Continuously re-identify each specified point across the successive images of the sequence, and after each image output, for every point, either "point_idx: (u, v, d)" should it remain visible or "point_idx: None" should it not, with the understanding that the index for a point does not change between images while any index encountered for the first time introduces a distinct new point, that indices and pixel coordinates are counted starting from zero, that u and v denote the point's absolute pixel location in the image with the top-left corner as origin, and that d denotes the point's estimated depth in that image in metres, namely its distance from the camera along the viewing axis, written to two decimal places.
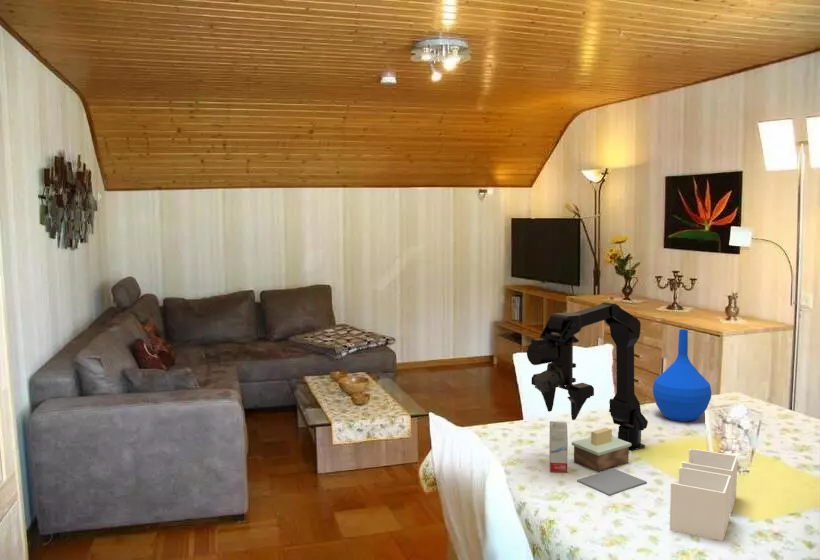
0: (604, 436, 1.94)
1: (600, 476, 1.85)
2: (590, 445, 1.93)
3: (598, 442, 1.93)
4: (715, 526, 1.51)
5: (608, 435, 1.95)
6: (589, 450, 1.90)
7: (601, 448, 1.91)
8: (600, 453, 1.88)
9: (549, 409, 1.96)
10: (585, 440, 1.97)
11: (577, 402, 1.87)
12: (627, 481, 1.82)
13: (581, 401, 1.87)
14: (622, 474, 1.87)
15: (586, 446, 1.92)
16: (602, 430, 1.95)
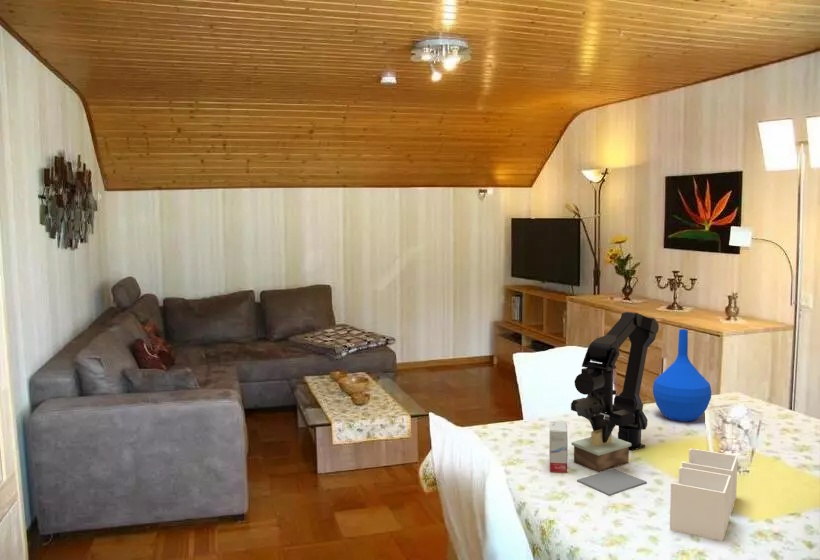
0: None
1: (600, 476, 1.85)
2: (590, 445, 1.93)
3: (598, 442, 1.93)
4: (715, 526, 1.51)
5: None
6: (589, 450, 1.90)
7: (601, 448, 1.91)
8: (600, 453, 1.88)
9: None
10: (585, 440, 1.97)
11: (608, 425, 1.93)
12: (627, 481, 1.82)
13: (612, 424, 1.93)
14: (622, 474, 1.87)
15: (586, 446, 1.92)
16: None
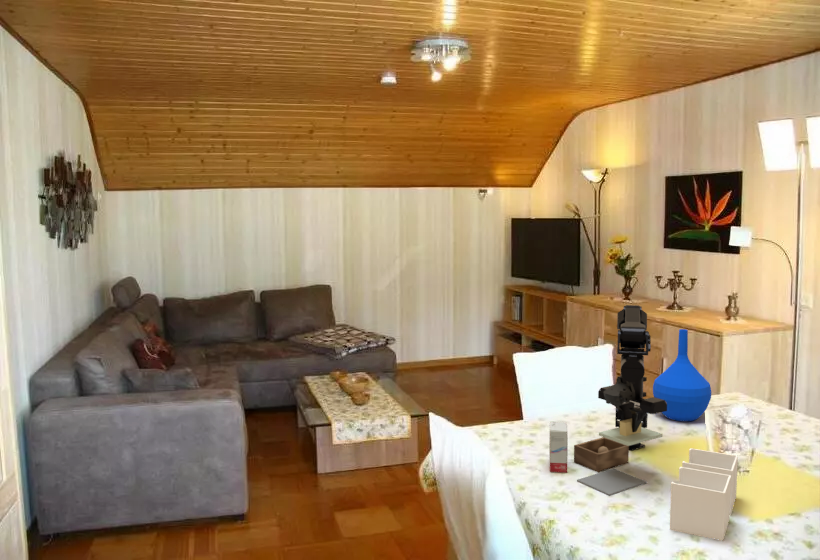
0: None
1: (600, 476, 1.85)
2: (619, 435, 1.84)
3: (627, 432, 1.84)
4: (716, 526, 1.51)
5: None
6: (618, 440, 1.81)
7: (630, 438, 1.81)
8: (630, 443, 1.79)
9: None
10: (613, 430, 1.88)
11: (638, 414, 1.83)
12: (627, 481, 1.82)
13: (642, 413, 1.83)
14: (622, 474, 1.87)
15: (614, 436, 1.83)
16: (631, 420, 1.85)
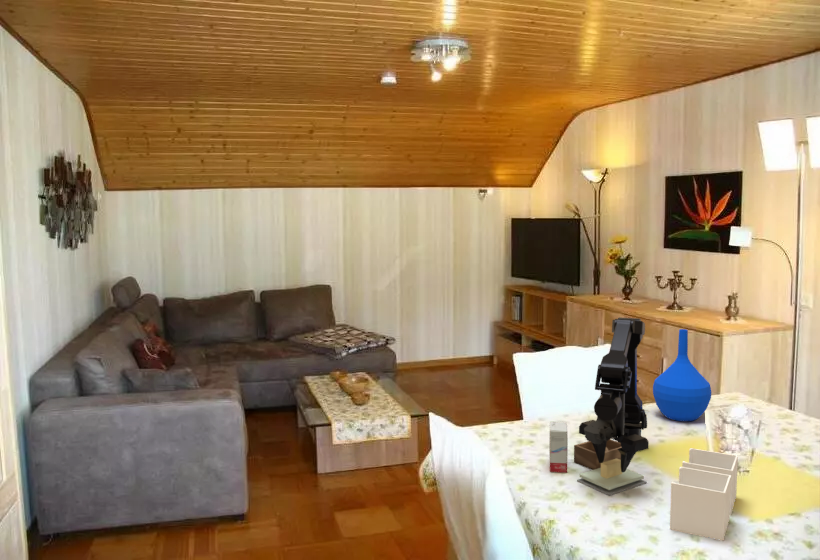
0: (614, 468, 1.81)
1: None
2: (599, 478, 1.80)
3: (608, 474, 1.80)
4: (716, 526, 1.51)
5: (619, 467, 1.82)
6: (599, 484, 1.77)
7: (611, 481, 1.78)
8: (610, 487, 1.75)
9: (600, 461, 1.85)
10: (594, 472, 1.84)
11: (627, 454, 1.77)
12: None
13: (631, 453, 1.78)
14: None
15: (595, 479, 1.79)
16: (612, 461, 1.82)
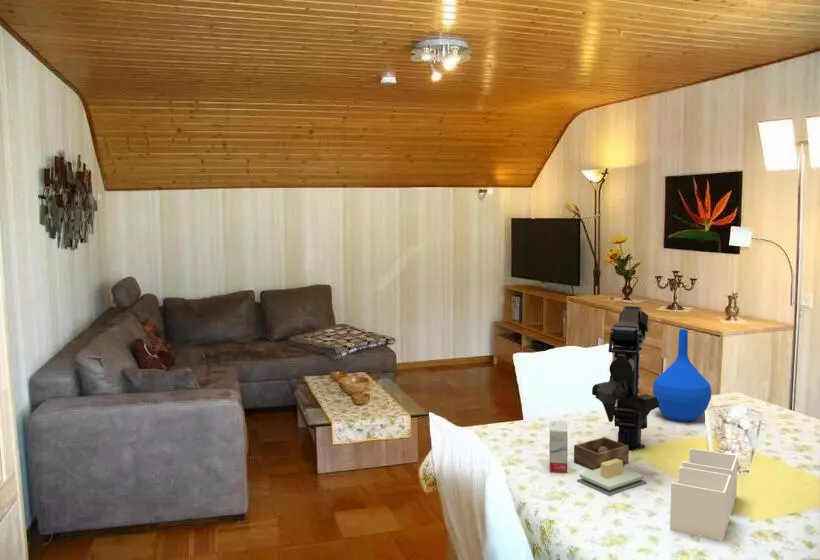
0: (614, 468, 1.81)
1: None
2: (599, 478, 1.80)
3: (608, 474, 1.80)
4: (716, 526, 1.51)
5: (619, 467, 1.82)
6: (599, 484, 1.77)
7: (611, 481, 1.78)
8: (610, 487, 1.75)
9: (610, 419, 1.95)
10: (594, 472, 1.84)
11: (641, 413, 1.86)
12: None
13: (645, 412, 1.86)
14: None
15: (595, 479, 1.79)
16: (612, 461, 1.82)
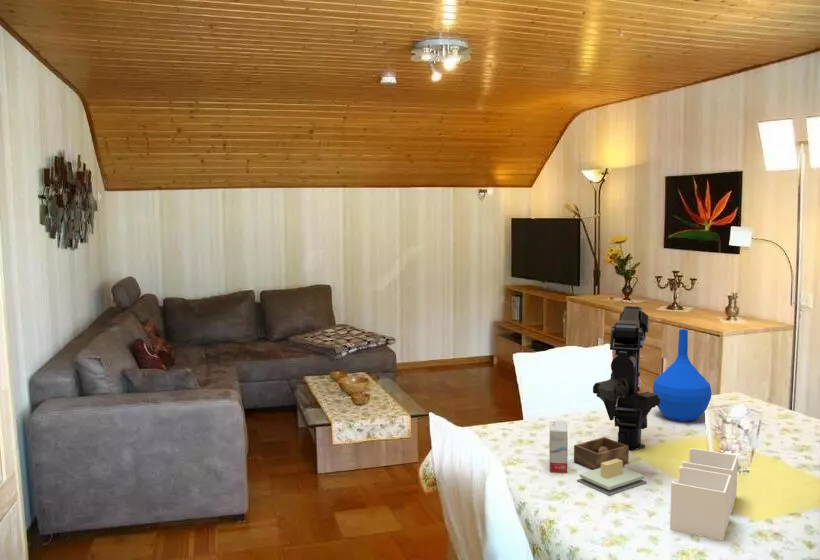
0: (614, 468, 1.81)
1: None
2: (599, 478, 1.80)
3: (608, 474, 1.80)
4: (716, 525, 1.51)
5: (619, 467, 1.82)
6: (599, 484, 1.77)
7: (611, 481, 1.78)
8: (610, 487, 1.75)
9: (611, 418, 1.95)
10: (594, 472, 1.84)
11: (642, 411, 1.86)
12: None
13: (646, 410, 1.86)
14: None
15: (595, 479, 1.79)
16: (612, 461, 1.82)
